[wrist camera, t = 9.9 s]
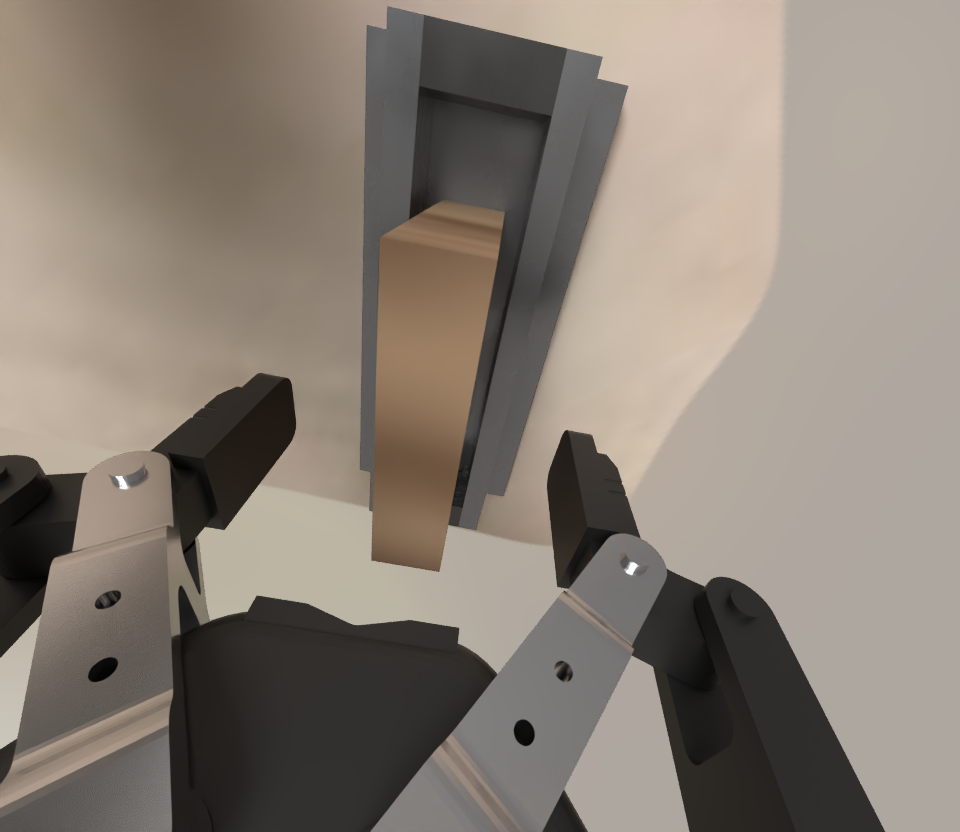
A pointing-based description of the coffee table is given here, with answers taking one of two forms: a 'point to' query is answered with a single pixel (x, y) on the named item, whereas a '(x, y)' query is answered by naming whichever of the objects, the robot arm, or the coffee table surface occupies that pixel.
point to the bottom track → (484, 201)
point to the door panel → (427, 371)
